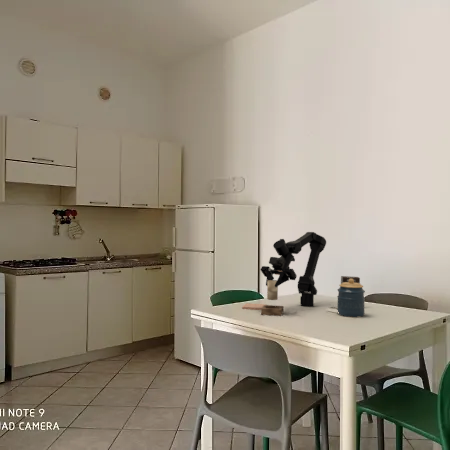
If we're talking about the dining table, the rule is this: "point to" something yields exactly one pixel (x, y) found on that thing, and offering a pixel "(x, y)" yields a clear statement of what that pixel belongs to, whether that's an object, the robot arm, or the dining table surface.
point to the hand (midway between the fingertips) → (270, 285)
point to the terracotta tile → (253, 306)
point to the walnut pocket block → (272, 310)
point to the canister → (351, 299)
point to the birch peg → (272, 290)
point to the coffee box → (346, 278)
